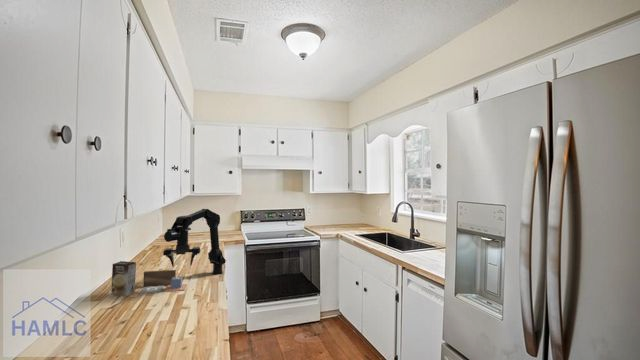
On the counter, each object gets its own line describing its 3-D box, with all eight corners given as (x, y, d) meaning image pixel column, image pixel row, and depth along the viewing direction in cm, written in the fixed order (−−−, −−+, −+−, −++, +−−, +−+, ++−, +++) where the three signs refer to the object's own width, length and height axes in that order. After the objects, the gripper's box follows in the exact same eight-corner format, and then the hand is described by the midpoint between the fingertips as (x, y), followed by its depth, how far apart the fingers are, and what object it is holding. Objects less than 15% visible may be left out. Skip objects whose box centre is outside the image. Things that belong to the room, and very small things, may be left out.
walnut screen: (144, 285, 173) (144, 271, 173) (175, 283, 177) (175, 269, 178) (143, 286, 171) (143, 272, 171) (174, 284, 175) (175, 270, 176)
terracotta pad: (168, 286, 173) (168, 285, 173) (187, 284, 175) (187, 283, 176) (164, 291, 163) (164, 290, 163) (184, 290, 166) (184, 289, 166)
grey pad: (144, 287, 169) (144, 286, 169) (164, 286, 172) (164, 285, 172) (139, 293, 160) (139, 292, 160) (160, 292, 162) (160, 291, 162)
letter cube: (172, 286, 171) (172, 276, 171) (181, 285, 172) (182, 276, 173) (170, 288, 166) (170, 279, 166) (180, 288, 168) (180, 278, 168)
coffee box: (110, 295, 156) (111, 263, 157) (119, 291, 163) (120, 261, 163) (126, 296, 155) (128, 264, 156) (135, 292, 162) (136, 261, 162)
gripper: (161, 242, 163) (160, 271, 162) (198, 240, 168) (198, 269, 168) (165, 238, 173) (165, 265, 173) (200, 237, 179) (200, 263, 179)
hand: (182, 266), depth 173 cm, fingers open, 9 cm apart
